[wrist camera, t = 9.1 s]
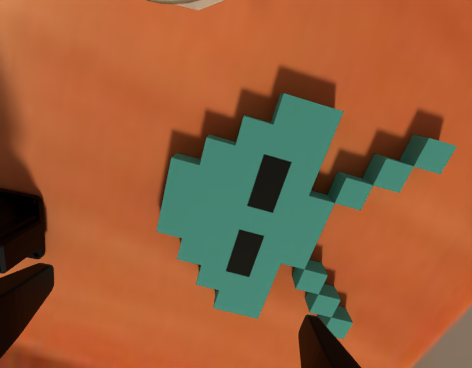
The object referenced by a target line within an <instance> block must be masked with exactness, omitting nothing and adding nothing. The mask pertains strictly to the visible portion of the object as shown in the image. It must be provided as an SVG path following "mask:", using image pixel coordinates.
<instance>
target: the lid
mask: <svg viewBox="0 0 472 368" xmlns="http://www.w3.org/2000/svg"><path fill="white" fill-rule="evenodd" d="M147 1H151V2H156V3H161V4H186V3H191V2H195V1H199V0H147Z"/></svg>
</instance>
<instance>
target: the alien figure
mask: <svg viewBox="0 0 472 368" xmlns="http://www.w3.org/2000/svg"><path fill="white" fill-rule="evenodd" d="M343 112H344V111H340V110H337V109H334V108H331V107H327V106H324V105H321V104H318V103H314V102H311V101H308V100H304V99H301V98H298V97H295V96H291V95H288V94H285V93H282V94H280V95H279V99H278V102H277V105H276V108H275V111H274V114H273V117H272V120H271V123H270V122H267V121H263V120H260V119H257V118H253V117H250V116H247V115H243V119H242V122H241V126H240V130H239V133H238V137H237V140H236V142H234V141H231V140H227V139H224V138H221V137H217V136H214V135H210V134H209V135H208V136H207V137H206V142H205V146H204V150H203V154H202V158H201V159H197V158H194V157H190V156H186V155H183V154H179V153H176V154H175V155H174V156H173V157H171V162H170V167H169V172H168V177H167V182H166V187H165V192H164V197H163V202H162V207H161V212H160V217H159V222H158V227H157V232H160V233H164V234H168V235H172V236H176V237H179V238H182V241H181V245H180V249H179V253H178V257H177V259H178V260H182V261H186V262H190V263H194V264H198V265H201V267H200V270H199V274H198V278H197V282H196V285H199V286H204V287H208V288H212V289H216V290H217V291H216V294H215V300H214V308H215V309H219V310H223V311H227V312H232V313H236V314H240V315H244V316H249V317H253V318H257V319H258V317H259V315H260V312H261V310H262V308H263V305H264V303H265V300H266V298H267V296H268V293H269V291H270V288H271V286H272V283H273V281H274V279H275V276H276V274H277V271H278V269H279V266H280V264H285V265H289V266H293V267H296V268H295V270H294V272H293V274H292V277H293V281H294V284H295V288H296V289H299V290H303V291H307V292H308V293H307V295H306V297H305V300H306V303H307V306H308V309H309V312H311V313H315V314H319V316H318V317H319V318H320V319H321V321H322V322H323V323H324V324H325V325H326V327H327V328H328V329H329V330H330V331H331V332H332V334H333V335H334V336H335V337H337V338H341V339H344V337H345V335H346V334H347V332H348V330H349V329H350V327H351V325H352V324H353V322H352V320H351V318H350V316H349V314H348V312H347V310H346V308H344V307H340V306H338V305H339V303H340V301H341V299H340V297H339V295H338V293H337V291H336V289H335V287H334V286H331V285H327V284H324V282H325V280H326V278H327V276H328V274H327V272H326V270H325V268H324V266H323V264H322V263H320V262H316V261H312V260H309V259H310V256H311V254H312V252H313V250H314V248H315V246H316V243H317V241H318V239H319V237H320V235H321V232H322V230H323V228H324V226H325V224H326V221H327V219H328V217H329V215H330V213H331V211H332V208H333V206H334V204H335V203H336V204H340V205H343V206H347V207H351V208H354V209H358V210H361V209H362V207H363V205H364V203H365V201H366V199H367V197H368V195H369V193H370V191H371V189H372V187H373V185H374V186H377V187H381V188H384V189H388V190H391V191H395V192H398V193H400V191H401V189H402V187H403V185H404V183H405V182H406V180H407V178H408V176H409V174H410V172H411V171H412V169H413V167H417V168H421V169H424V170H428V171H431V172H434V173H438V174H441V172H442V171H443V169H444V167H445V166H446V164H447V162H448V161H449V159H450V157H451V155H452V154H453V152H454V150H455V149H456V147H457V146H454V145H451V144H448V143H444V142H441V141H438V140H435V139H431V138H428V137H423V136H418V135H413V136H412V138H411V140H410V141H409V143H408V145H407V147H406V149H405V151H404V153H403V155H402V157H401V159H400V161H398V160H395V159H391V158H388V157H385V156H381V155H378V154H375V153H374V155H373V158H372V160H371V162H370V164H369V166H368V168H367V170H366V172H365V174H364V176H363V178H359V177H356V176H352V175H349V174H345V173H342V172H339V171H338V172H337V175H336V177H335V179H334V181H333V184H332V186H331V188H330V190H329V193H328V195H326V194H322V193H319V192H315V191H311V189H312V187H313V184H314V182H315V179H316V177H317V175H318V172H319V170H320V167H321V165H322V163H323V160H324V158H325V155H326V153H327V150H328V148H329V146H330V143H331V141H332V138H333V136H334V133H335V131H336V129H337V126H338V124H339V121H340V119H341V117H342V114H343Z"/></svg>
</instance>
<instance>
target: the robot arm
mask: <svg viewBox="0 0 472 368" xmlns="http://www.w3.org/2000/svg"><path fill="white" fill-rule="evenodd" d="M34 201H35V202H36V203H35V202H34ZM44 254H45V248H44V225H43V203H42V199H41V198H40V197H38V196H35V195H30V194H26V193H21V192H16V191H11V190H6V189H1V188H0V273H5V272H7V271H8V270H10V269H11V268H13V267H14V266H15V265H17V264H18V263H19V262H21V261H22V260H23V259H25V258H26V257H28V258H33V259H40V258H41V257H43V256H44ZM53 286H54V268H53V266H52V265H49V264H44V263H38V264H35V265H32V266H30V267H27V268H25V269H22V270H19V271H17V272H14V273H12V274H9V275H6V276H4V277H1V278H0V358H1V357H2V356H3V355H4V354H5V352H6V351H7V350H8V349H9V348H10V346H11V345H12V344H13V343H14V342H15V340H16V339H17V338H18V337H19V336H20V334H21V333H22V332H23V330H24V329H25V327H26V326H27V325H28V323H29V322H30V320H31V319H32V318H33V316H34V315H35V313H36V312H37V311H38V309H39V308H40V306H41V305H42V304H43V302H44V301H45V299H46V298H47V297H48V295H49V294H50V292H51V291H52V289H53ZM299 348H300V359H301V368H361V367H360V366H359V364H358V363H357V362H356V361H355V360H354V358H353V357H352V356H351V355H350V354H349V353H348V351H347V350H346V349H345V348H344V347H343V345H342V344H341V343H340V342H339V341H338V340H337V338H336V337H335V336H334V335H333V334H332V332H331V331H330V330H329V329H328V328H327V327H326V325H325V324H324V323H323V322H322V321H321V319H320V318H319V317H317V316H313V315H306V316H305V318H304V320H303V323H302V325H301V327H300V330H299Z"/></svg>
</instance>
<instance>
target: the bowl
mask: <svg viewBox="0 0 472 368" xmlns="http://www.w3.org/2000/svg"><path fill="white" fill-rule="evenodd" d="M221 1H224V0H199V1H195V2H191V3H186V4H174V5H178V6H182V7H186V8H190V9H194V10H201V9H203V8H206V7H208V6H211V5H214V4H216V3H219V2H221Z"/></svg>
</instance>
